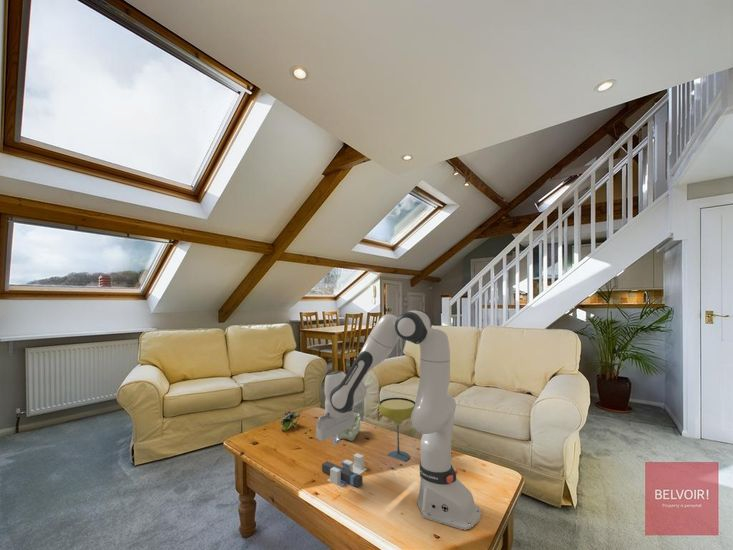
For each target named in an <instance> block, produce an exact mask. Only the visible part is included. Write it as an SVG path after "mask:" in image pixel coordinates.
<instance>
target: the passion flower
mask: <svg viewBox="0 0 733 550" xmlns="http://www.w3.org/2000/svg"><path fill="white" fill-rule="evenodd" d="M300 416H301V414H300V413H298V412H297V413H296V412H294V411H291V410H289V411H287V412H286V411H285V413H284V416H283V417H282V418H281V420H280V421H279V423H280V425H282V427H281V431H282V430H283V431H285V430H286V431H287V430H288V429H290V428H291V427H292V426H293V427H294V429H297V427H298V426H297V423H298V420H299V418H300ZM296 419H297V420H296ZM294 420H296V422H294ZM283 431H282V432H283Z"/></svg>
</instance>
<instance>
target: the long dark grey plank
mask: <svg viewBox="0 0 733 550" xmlns="http://www.w3.org/2000/svg"><path fill="white" fill-rule="evenodd" d="M334 466H335V467H337V468H339V469H342V472H341V480H342V481H345V482H347V484H349V485H350V486H354V487H356V488H359V487H360V486H362V485H363V483H364V482H363V480H364V479H363V476H362V475H361V474H359V475H358V474H357V473H354V472H351V471H349V470H347V469H344V468H343V466H340V465H336V464H334V463H333V462H330V461H325V462H322V464H321V471H322V472H323V473H325V474H328V476H330V469H331V468H333V467H334Z"/></svg>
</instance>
